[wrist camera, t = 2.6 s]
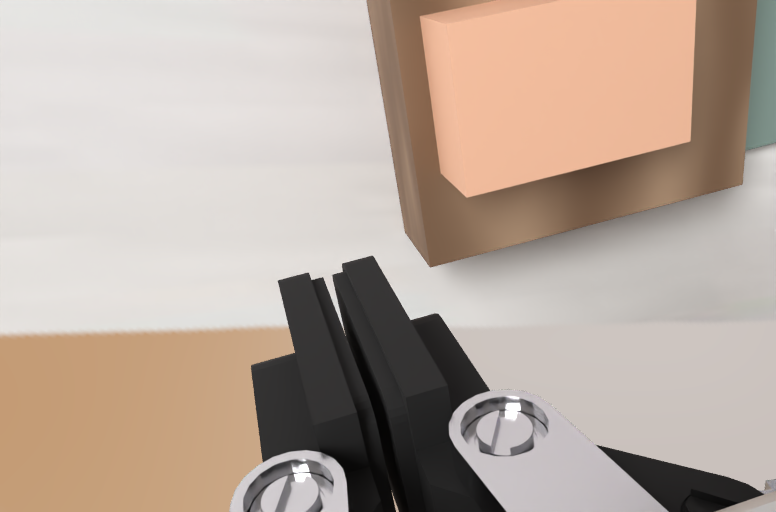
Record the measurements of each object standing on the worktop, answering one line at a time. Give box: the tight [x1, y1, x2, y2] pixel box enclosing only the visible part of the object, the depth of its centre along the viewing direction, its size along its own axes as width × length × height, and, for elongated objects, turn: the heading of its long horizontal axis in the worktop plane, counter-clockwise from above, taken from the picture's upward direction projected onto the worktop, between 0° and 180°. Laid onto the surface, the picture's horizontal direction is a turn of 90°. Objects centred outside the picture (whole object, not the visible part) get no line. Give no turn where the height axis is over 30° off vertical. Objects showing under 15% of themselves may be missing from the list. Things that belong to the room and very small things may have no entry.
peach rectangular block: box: [420, 0, 696, 198], centre depth 25 cm, size 9×6×3 cm, turn 100°
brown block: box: [367, 0, 757, 267], centre depth 28 cm, size 15×14×4 cm
